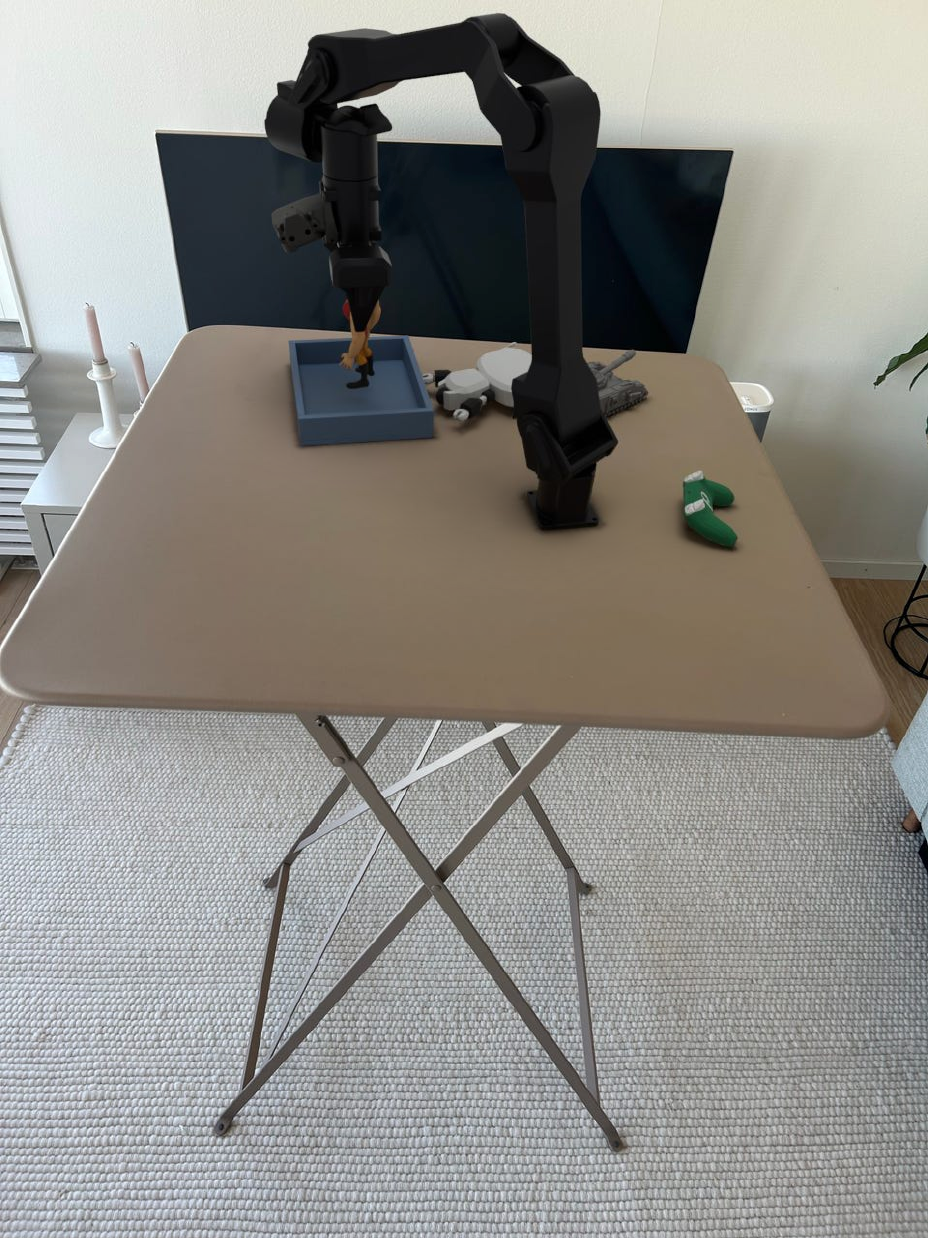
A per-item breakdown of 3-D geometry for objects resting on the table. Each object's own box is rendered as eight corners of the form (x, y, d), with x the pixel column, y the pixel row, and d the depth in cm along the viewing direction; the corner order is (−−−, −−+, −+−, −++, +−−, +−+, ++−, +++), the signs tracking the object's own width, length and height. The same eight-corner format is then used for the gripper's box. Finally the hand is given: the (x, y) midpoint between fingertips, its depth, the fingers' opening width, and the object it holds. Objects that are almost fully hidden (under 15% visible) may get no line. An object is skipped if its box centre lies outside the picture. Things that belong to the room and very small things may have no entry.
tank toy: (601, 372, 119) (607, 335, 115) (655, 400, 114) (663, 363, 110) (538, 398, 113) (542, 360, 109) (592, 429, 108) (598, 391, 104)
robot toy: (458, 442, 106) (566, 411, 110) (457, 409, 102) (568, 378, 107) (416, 395, 113) (518, 367, 118) (414, 363, 110) (519, 335, 115)
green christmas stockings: (706, 511, 100) (676, 474, 97) (736, 494, 97) (706, 456, 95) (709, 561, 93) (676, 523, 90) (741, 544, 91) (709, 505, 88)
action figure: (356, 362, 113) (351, 240, 103) (384, 365, 112) (381, 243, 102) (337, 396, 106) (329, 269, 96) (366, 399, 105) (361, 272, 95)
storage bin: (433, 437, 105) (434, 410, 102) (300, 446, 102) (298, 418, 99) (408, 360, 119) (408, 335, 116) (290, 366, 116) (288, 340, 113)
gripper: (268, 147, 97) (281, 287, 108) (276, 204, 84) (290, 357, 95) (368, 147, 99) (372, 284, 110) (392, 202, 86) (393, 352, 97)
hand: (356, 317), depth 103 cm, fingers closed on action figure, 7 cm apart
